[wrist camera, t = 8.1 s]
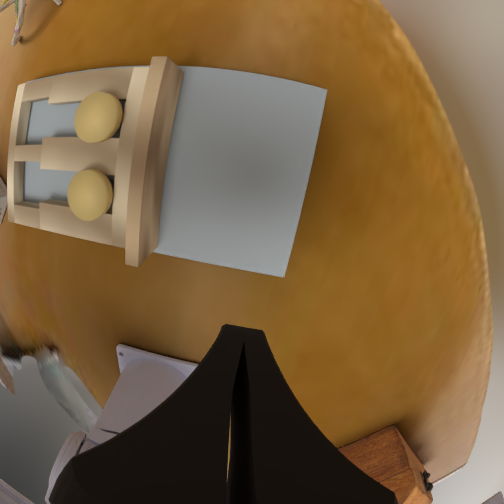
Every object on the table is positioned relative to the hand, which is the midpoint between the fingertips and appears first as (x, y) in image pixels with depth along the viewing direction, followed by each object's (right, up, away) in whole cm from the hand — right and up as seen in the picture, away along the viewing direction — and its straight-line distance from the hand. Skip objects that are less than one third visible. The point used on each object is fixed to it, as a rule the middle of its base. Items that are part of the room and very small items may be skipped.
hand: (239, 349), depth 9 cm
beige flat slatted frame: (-11, +10, +6) cm, 16 cm away
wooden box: (+22, -33, +23) cm, 46 cm away
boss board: (-8, +10, +7) cm, 14 cm away
